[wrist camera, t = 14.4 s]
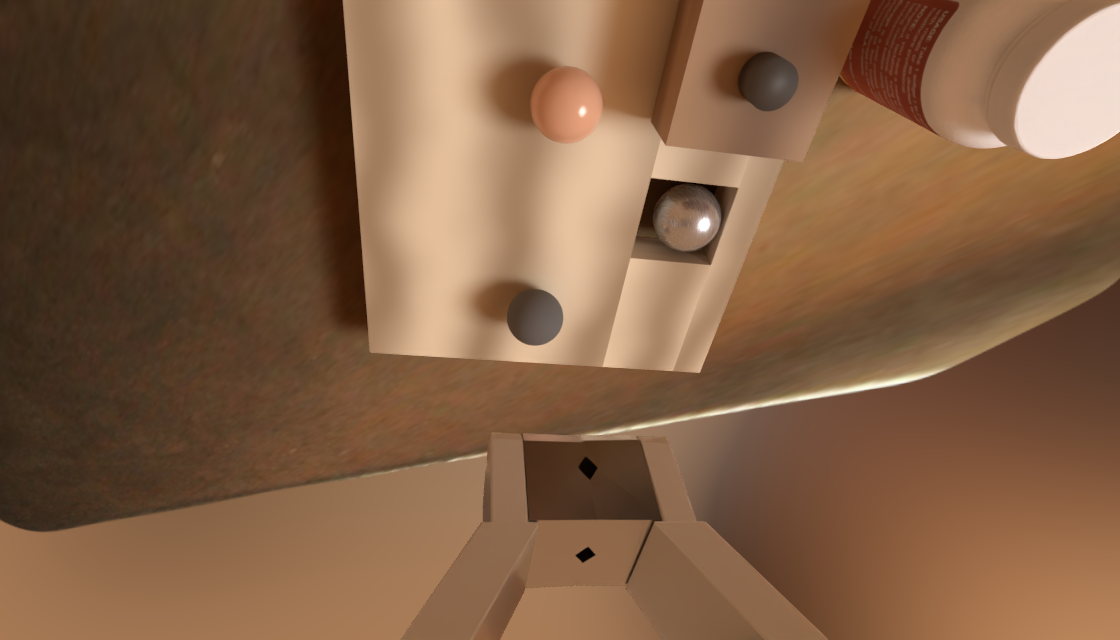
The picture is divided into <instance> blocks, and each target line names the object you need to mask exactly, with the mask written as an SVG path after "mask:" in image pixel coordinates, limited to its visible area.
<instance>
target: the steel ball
mask: <svg viewBox="0 0 1120 640" xmlns="http://www.w3.org/2000/svg"><path fill="white" fill-rule="evenodd" d="M720 224H721V209H720V205H719V203H718V201H717V199H716V198H715V196H714V195H713V194H712V193H711V192H710V191H709V190H707V189H706V188H704V187H702V186H699V185H696V184H681V185H677V186H675V187H672V188H670V189H669V190H667V191H666V192H665V193H664V194H663V195H662V196H661V197H660V198H659V200H658V201H657V203H656V205H655V208H654V212H653V227H654V230H655V232H656V234H657V236H658V238H659V239H660V240H661V241H662V242H663V243H664V244H665V245H666V246H668V247H669V248H671V249H674V250H677V251H683V252H689V251H694V250H698V249H700V248H702V247H704V246H705V245H707V244H708V243H709V242H710V241H711V240H712V239H713V238H714V237H715V235H716V234H717V232H718V230H719V227H720Z"/></svg>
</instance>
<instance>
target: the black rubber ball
mask: <svg viewBox="0 0 1120 640" xmlns="http://www.w3.org/2000/svg"><path fill="white" fill-rule="evenodd" d="M507 324H508V327H509V329H510V331H511V333H512V334H513V336H514V337H515V338H516V339H517V340H519V341H520V342H522V343H524V344H527V345H532V346H538V345H543V344H546V343H548V342H550V341H551V340H553V339H554V338H555V337H556V336H557V335H558V333H559V332H560V330H561V327H562V324H563V311H562V307H561V305H560V303H559V302H558V300H557V299H556V298H555V297H554V296H553V295H552V294H550V293H548V292H546V291H544V290H539V289H531V290H527V291H524V292H522V293H520V294H519V295H517V296H516V297H515V298H514V299H513V300H512V302H511V303H510V305H509V308H508V311H507Z"/></svg>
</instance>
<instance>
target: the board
mask: <svg viewBox="0 0 1120 640" xmlns="http://www.w3.org/2000/svg"><path fill="white" fill-rule="evenodd" d="M679 1H680V0H343V9H344V22H345V35H346V48H347V61H348V74H349V87H350V100H351V113H352V126H353V139H354V152H355V165H356V178H357V191H358V204H359V217H360V230H361V243H362V256H363V269H364V282H365V295H366V308H367V321H368V334H369V347H370V353H385V354H401V355H418V356H434V357H451V358H467V359H484V360H500V361H516V362H533V363H549V364H566V365H582V366H599V367H615V368H632V369H648V370H664V371H681V372H697V373H700V371H701V368H702V365H703V363H704V360H705V358H706V355H707V353H708V350H709V348H710V345H711V343H712V340H713V338H714V335H715V333H716V330H717V328H718V325H719V323H720V320H721V318H722V315H723V313H724V310H725V308H726V305H727V303H728V300H729V298H730V295H731V293H732V290H733V288H734V285H735V283H736V280H737V278H738V275H739V273H740V270H741V268H742V265H743V262H744V260H745V257H746V255H747V252H748V250H749V247H750V245H751V242H752V240H753V237H754V235H755V232H756V230H757V227H758V225H759V222H760V220H761V217H762V215H763V212H764V210H765V207H766V205H767V202H768V200H769V197H770V195H771V192H772V190H773V187H774V185H775V182H776V180H777V177H778V175H779V172H780V170H781V167H782V165H783V162H784V160H780V159H771V158H763V157H755V156H747V155H739V154H730V153H722V152H714V151H706V150H698V149H689V148H681V147H673V146H666V145H665V144H664V142H663V141H662V139H661V137H660V136H659V134H658V133H657V131H656V129H655V128H654V126H653V125H652V123H651V118H652V114H653V110H654V106H655V101H656V97H657V93H658V89H659V85H660V81H661V76H662V72H663V68H664V64H665V60H666V56H667V51H668V47H669V43H670V39H671V35H672V31H673V26H674V22H675V18H676V14H677V10H678V6H679ZM561 66H572V67H577V68H579V69H582V70H584V71H585V72H587V73H588V74H589V75H590V76H591V77H592V78H593V79H594V80H595V81H596V83H597V84H598V86H599V88H600V91H601V95H602V100H603V110H602V115H601V118H600V121H599V123H598V125H597V127H596V128H595V130H594V131H593V132H592V133H591V134H590V135H589V136H588V137H586V138H585V139H583V140H581V141H579V142H576V143H571V144H562V143H557V142H554V141H552V140H550V139H548V138H547V137H545V136H544V135H543V134H542V133H541V132H540V131H539V130H538V128H537V127H536V125H535V123H534V121H533V118H532V115H531V110H530V100H531V95H532V91H533V89H534V87H535V85H536V83H537V82H538V80H539V79H540V78H541V77H542V76H543V75H544V74H545V73H547V72H548V71H550V70H552V69H554V68H556V67H561ZM651 178H657V179H665V180H674V181H683V182H692V183H701V184H710V185H717V188H716V191H715V194H714V196H715V198H716V199H717V201H718V203H719V205H720V209H721V224H720V227H719V230H718V232H717V234H716V235H715V237H714V238H713V239H712V240H711V241H710V242H709V243H708V244H707V245H705V246H704V247H702V248H700V249H698V250H694V251H689V252H683V251H677V250H674V249H671V248H669V247H668V246H666V245H665V244H664V243H663V242H662V241H661V240H660V239H657V238H647V237H636V234H637V230H638V226H639V222H640V219H641V215H642V211H643V207H644V203H645V199H646V195H647V191H648V187H649V183H650V179H651ZM531 289H539V290H544V291H546V292H548V293H550V294H552V295H553V296H554V297H555V298H556V299H557V300H558V302H559V303H560V305H561V307H562V311H563V324H562V327H561V330H560V332H559V333H558V335H557V336H556V337H555V338H554V339H553V340H551V341H550V342H548V343H546V344H543V345H538V346H532V345H527V344H524V343H522V342H520V341H519V340H517V339H516V338H515V337H514V336H513V334H512V333H511V331H510V329H509V327H508V324H507V311H508V308H509V305H510V303H511V302H512V300H513V299H514V298H515V297H516V296H517V295H519V294H520V293H522V292H524V291H527V290H531Z"/></svg>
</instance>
